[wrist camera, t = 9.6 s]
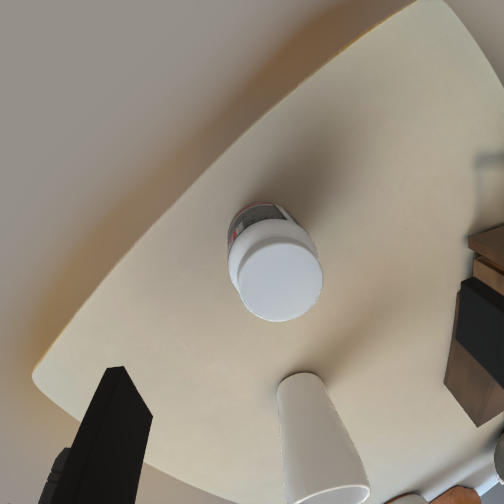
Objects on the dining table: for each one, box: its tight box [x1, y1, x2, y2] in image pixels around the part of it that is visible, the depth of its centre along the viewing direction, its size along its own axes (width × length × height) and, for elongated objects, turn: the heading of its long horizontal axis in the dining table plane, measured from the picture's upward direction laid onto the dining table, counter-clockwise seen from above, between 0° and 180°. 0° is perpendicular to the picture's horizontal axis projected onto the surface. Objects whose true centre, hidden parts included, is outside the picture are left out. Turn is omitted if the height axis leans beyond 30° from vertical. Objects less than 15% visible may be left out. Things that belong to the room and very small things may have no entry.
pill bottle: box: [228, 202, 323, 321], centre depth 21 cm, size 6×6×10 cm
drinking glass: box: [276, 373, 371, 504], centre depth 25 cm, size 7×7×15 cm
